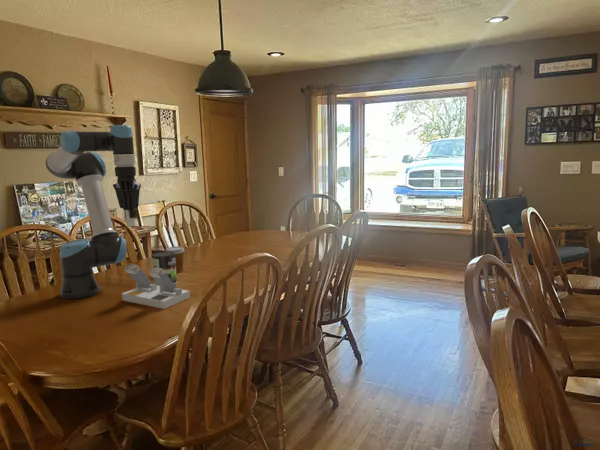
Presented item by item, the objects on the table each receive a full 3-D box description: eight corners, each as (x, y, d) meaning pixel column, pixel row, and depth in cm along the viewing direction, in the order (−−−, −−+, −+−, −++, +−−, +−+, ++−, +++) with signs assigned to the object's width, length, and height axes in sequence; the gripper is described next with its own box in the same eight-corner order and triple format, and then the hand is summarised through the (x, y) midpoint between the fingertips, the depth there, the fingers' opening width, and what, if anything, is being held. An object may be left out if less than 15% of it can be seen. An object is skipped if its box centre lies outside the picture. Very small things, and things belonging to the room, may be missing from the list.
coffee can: (181, 280, 205) (179, 251, 202) (170, 287, 195) (168, 256, 192) (161, 279, 207) (158, 251, 204) (149, 286, 197) (147, 256, 195)
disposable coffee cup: (163, 273, 219) (160, 249, 217) (175, 268, 227) (173, 245, 225) (178, 274, 215) (176, 250, 213) (190, 269, 224) (188, 246, 222)
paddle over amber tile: (139, 288, 185) (122, 268, 176) (143, 283, 186) (126, 263, 178) (151, 290, 181) (134, 270, 173) (155, 285, 183) (138, 265, 175)
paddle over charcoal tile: (163, 292, 178) (146, 272, 170) (167, 287, 180) (151, 266, 172) (175, 294, 175) (159, 274, 166) (179, 289, 176) (163, 268, 168)
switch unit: (122, 300, 179) (121, 287, 178) (148, 290, 191) (147, 278, 190) (164, 308, 168) (163, 295, 167) (190, 297, 180) (189, 285, 179)
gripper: (105, 166, 167) (111, 226, 171) (129, 166, 161) (135, 228, 165) (120, 165, 174) (126, 223, 178) (144, 165, 168) (150, 225, 172)
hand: (130, 226), depth 171 cm, fingers closed
